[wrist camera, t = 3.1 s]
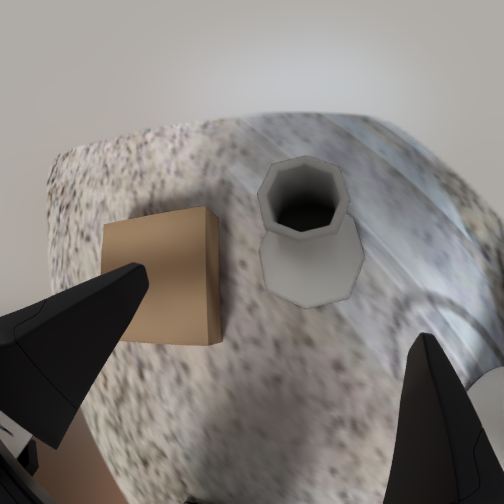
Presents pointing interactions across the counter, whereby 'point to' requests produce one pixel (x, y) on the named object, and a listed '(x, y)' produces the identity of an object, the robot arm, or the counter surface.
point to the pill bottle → (491, 408)
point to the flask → (308, 233)
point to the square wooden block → (171, 275)
